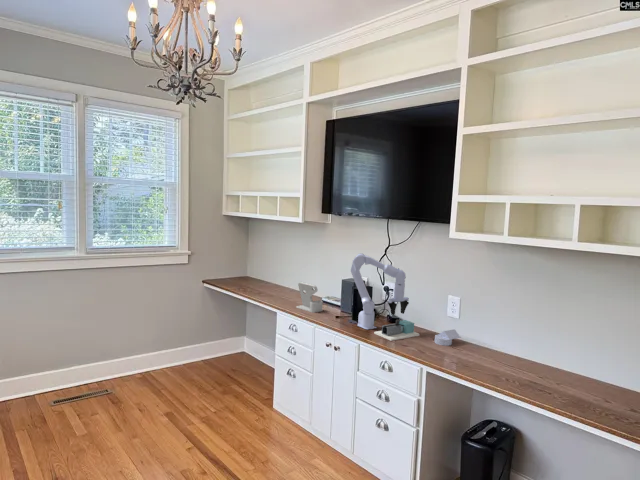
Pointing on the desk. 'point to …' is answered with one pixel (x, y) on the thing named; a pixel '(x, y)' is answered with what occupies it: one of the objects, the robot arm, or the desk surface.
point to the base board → (398, 336)
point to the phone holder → (309, 298)
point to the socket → (407, 326)
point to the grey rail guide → (391, 329)
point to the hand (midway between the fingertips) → (397, 313)
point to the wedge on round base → (446, 337)
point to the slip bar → (401, 325)
